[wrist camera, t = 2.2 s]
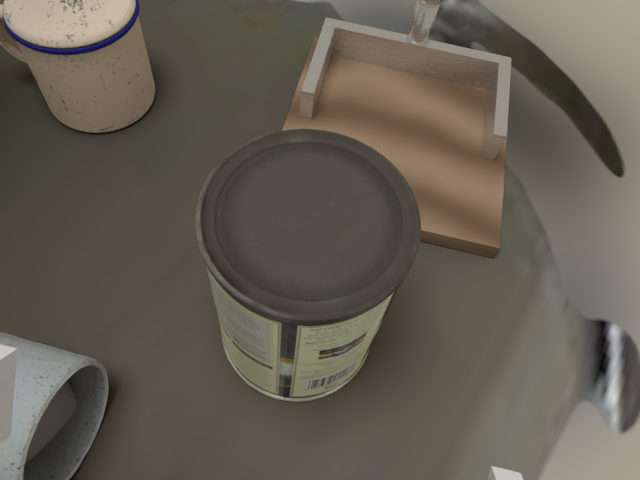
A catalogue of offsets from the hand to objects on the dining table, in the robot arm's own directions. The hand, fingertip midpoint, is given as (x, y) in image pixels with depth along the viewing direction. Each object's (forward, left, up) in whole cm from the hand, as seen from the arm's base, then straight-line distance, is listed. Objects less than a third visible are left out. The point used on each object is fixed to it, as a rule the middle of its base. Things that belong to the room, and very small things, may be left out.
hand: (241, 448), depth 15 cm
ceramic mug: (-10, -9, -19) cm, 24 cm away
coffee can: (-8, +8, -19) cm, 22 cm away
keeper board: (-17, +24, -19) cm, 35 cm away
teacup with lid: (-35, +5, -19) cm, 40 cm away
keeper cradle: (-19, +27, -18) cm, 38 cm away
